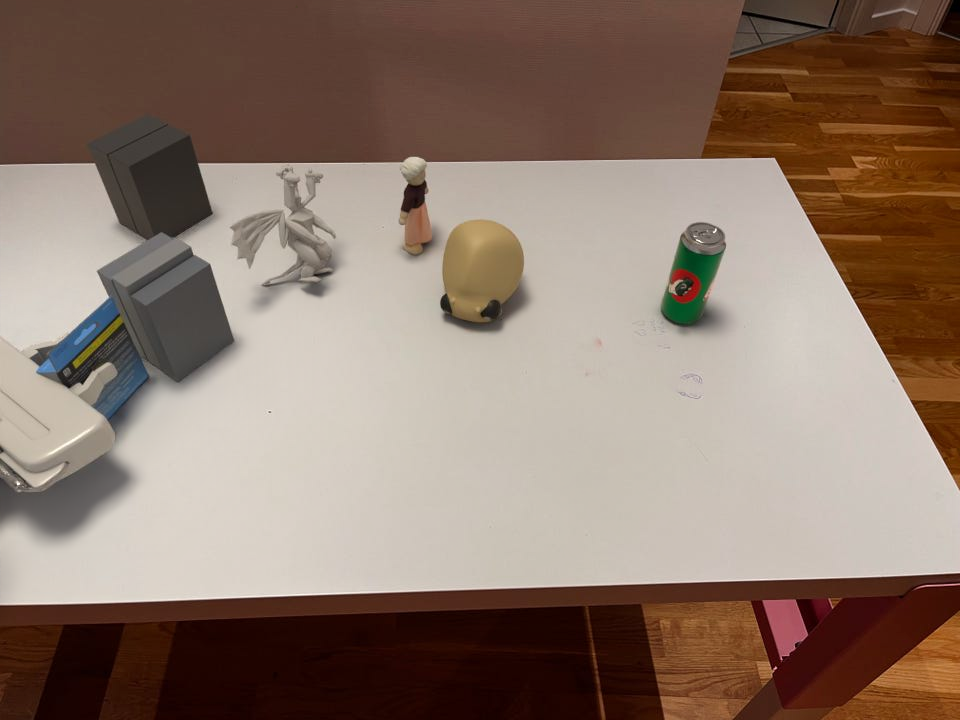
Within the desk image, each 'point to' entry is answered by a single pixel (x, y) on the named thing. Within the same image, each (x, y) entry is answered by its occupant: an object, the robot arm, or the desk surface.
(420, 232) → the grandmother figurine
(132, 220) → the dark grey block
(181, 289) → the grey upright block
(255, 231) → the dragon figurine
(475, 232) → the tan toy animal
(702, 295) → the soda can
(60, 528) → the desk surface
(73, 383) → the blue retail box
